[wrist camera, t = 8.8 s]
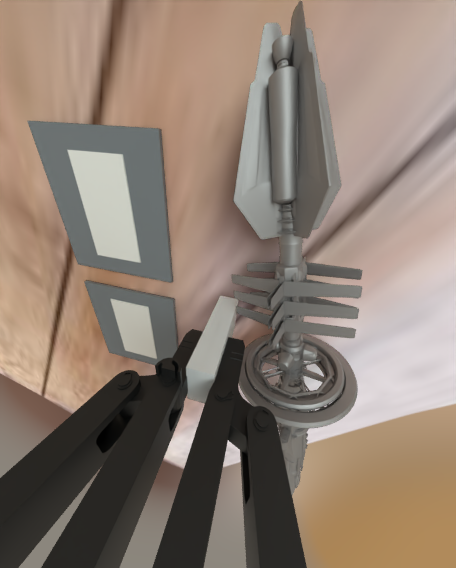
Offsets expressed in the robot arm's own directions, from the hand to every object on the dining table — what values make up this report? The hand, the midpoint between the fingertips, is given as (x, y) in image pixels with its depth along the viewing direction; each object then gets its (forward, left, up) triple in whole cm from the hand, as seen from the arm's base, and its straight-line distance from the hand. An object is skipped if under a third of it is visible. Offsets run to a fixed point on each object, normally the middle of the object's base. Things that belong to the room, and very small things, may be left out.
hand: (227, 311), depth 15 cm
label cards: (0, -11, -2) cm, 11 cm away
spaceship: (+2, +5, -2) cm, 6 cm away
